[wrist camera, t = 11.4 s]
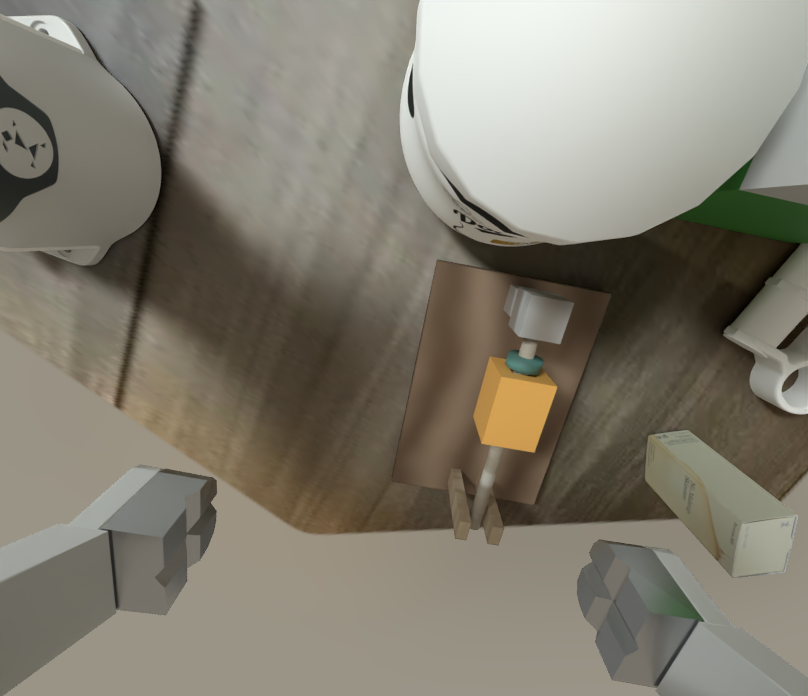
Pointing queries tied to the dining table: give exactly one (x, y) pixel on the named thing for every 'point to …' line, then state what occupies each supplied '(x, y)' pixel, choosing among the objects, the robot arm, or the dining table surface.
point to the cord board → (463, 376)
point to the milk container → (590, 109)
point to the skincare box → (720, 505)
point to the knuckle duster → (778, 334)
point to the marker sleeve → (512, 407)
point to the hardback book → (767, 183)
